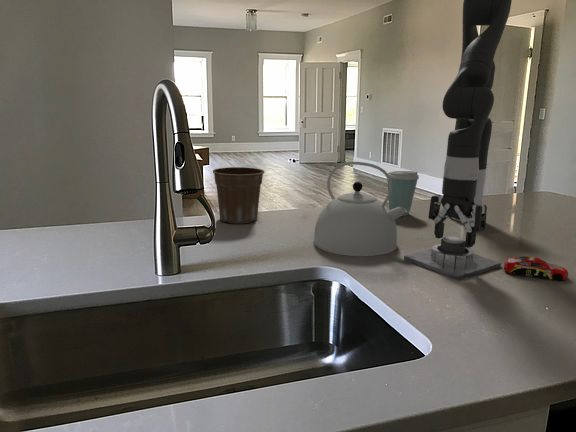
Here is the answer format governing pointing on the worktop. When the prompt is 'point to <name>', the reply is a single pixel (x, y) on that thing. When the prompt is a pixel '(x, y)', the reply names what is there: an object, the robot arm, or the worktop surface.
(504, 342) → the worktop surface
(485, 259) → the square plate with hole
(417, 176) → the disposable coffee cup
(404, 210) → the kettle
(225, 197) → the plant pot
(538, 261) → the race car
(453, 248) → the cylindrical peg
